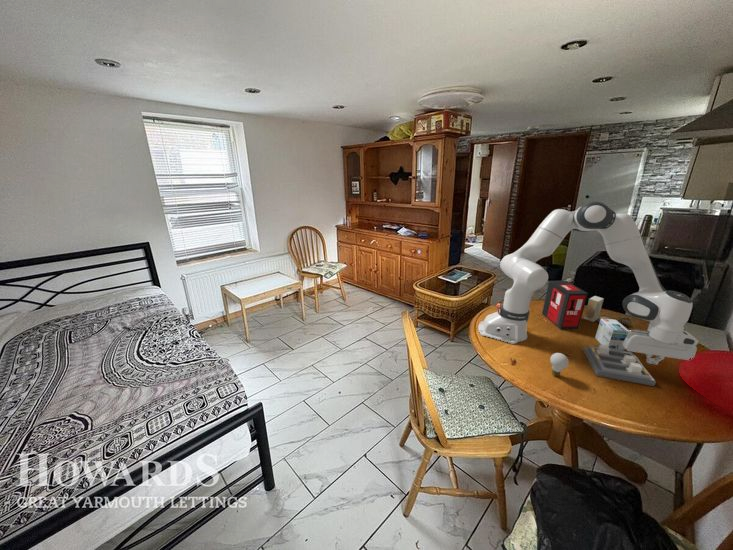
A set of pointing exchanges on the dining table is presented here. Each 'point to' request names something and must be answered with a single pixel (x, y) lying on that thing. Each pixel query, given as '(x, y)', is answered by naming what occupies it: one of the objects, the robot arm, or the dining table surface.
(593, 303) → the skincare box
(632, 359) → the tab middle
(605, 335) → the light bulb box
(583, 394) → the dining table surface
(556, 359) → the light bulb
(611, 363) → the switch bank
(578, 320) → the cleaning product box
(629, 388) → the dining table surface
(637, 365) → the tab front
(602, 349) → the tab rear
